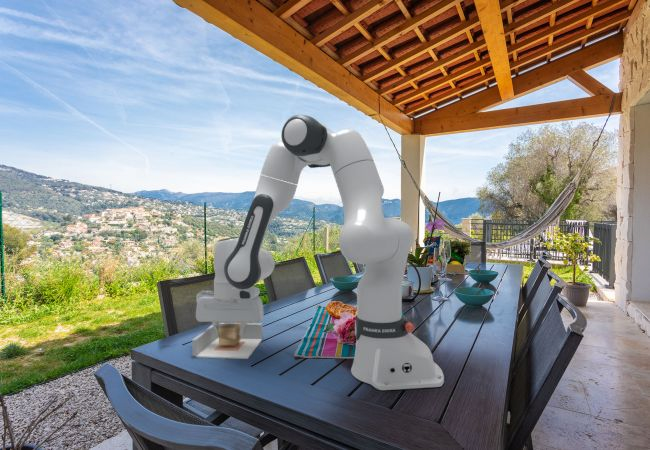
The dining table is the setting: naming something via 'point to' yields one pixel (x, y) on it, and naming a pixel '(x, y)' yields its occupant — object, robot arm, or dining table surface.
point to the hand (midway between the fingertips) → (229, 336)
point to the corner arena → (210, 348)
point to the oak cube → (229, 334)
